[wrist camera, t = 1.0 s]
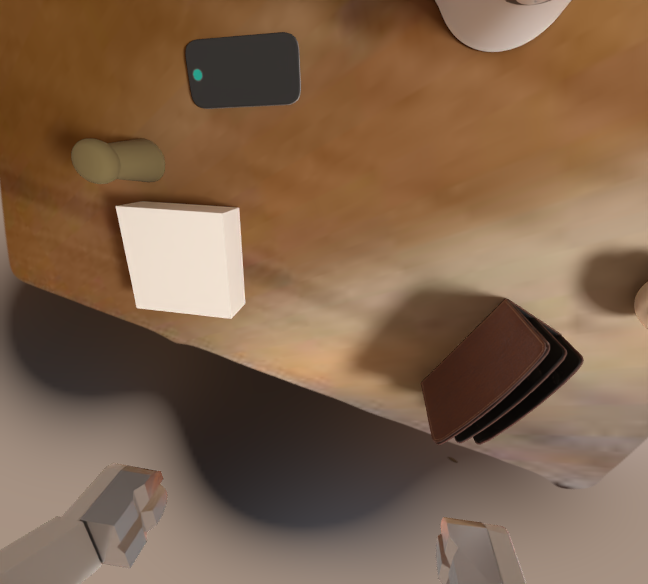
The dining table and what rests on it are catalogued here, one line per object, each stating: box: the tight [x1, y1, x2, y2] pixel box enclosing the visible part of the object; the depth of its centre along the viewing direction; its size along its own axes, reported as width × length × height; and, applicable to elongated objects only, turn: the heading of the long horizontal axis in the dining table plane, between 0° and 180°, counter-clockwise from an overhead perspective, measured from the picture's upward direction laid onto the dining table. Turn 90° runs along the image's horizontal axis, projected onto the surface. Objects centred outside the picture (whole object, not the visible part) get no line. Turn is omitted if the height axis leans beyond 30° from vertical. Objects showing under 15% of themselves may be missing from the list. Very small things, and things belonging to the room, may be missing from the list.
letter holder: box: [421, 299, 584, 445], centre depth 45 cm, size 10×20×14 cm, turn 148°
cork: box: [71, 138, 165, 184], centre depth 43 cm, size 6×6×11 cm
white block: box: [116, 201, 245, 319], centre depth 50 cm, size 16×16×6 cm
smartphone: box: [186, 32, 301, 109], centre depth 41 cm, size 8×1×15 cm
